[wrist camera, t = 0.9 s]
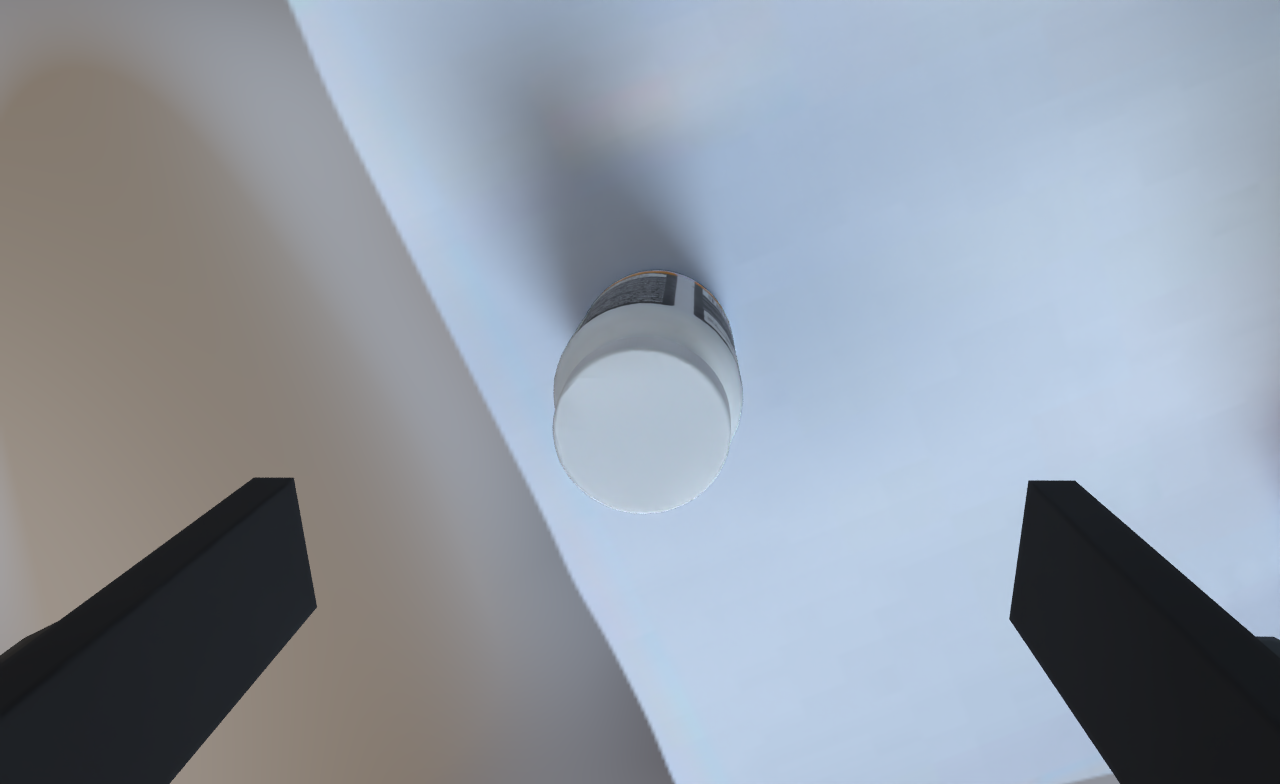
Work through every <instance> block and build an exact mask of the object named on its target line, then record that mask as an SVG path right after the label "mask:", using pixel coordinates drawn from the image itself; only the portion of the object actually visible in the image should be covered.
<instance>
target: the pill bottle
mask: <svg viewBox="0 0 1280 784" xmlns="http://www.w3.org/2000/svg"><path fill="white" fill-rule="evenodd" d="M742 404H743V389H742V382H741V377H740V372H739V366H738V360H737V355H736V351H735V346H734V342H733V336H732V331H731V327H730V324H729V321H728V319H727V317H726V315H725V313H724V311H723V309H722V307H721V306H720V304H719V303H718V301H717V300H716V298H715V297H714V296H713V295H712V294H711V293H710V292H709V291H708V290H707V289H706V288H704V287H703V286H702V285H700V284H699V283H698V282H696V281H694V280H693V279H691V278H689V277H686V276H684V275H681V274H678V273H675V272H670V271H662V270H651V271H642V272H637V273H634V274H631V275H628V276H626V277H624V278H622V279H620V280H618V281H617V282H615V283H613V284H612V285H611V286H610V287H608V288H607V289H606V290H605V291H604V292H603V293H602V294H601V295H600V296H599V297H598V298H597V299H596V300H595V302H594V303H593V304H592V306H591V308H590V309H589V311H588V312H587V314H586V316H585V318H584V319H583V320H582V322H581V323H580V325H579V327H578V328H577V330H576V332H575V333H574V335H573V336H572V338H571V339H570V341H569V343H568V344H567V346H566V348H565V349H564V351H563V353H562V355H561V358H560V360H559V363H558V365H557V370H556V374H555V378H554V405H555V413H554V418H553V437H554V443H555V448H556V452H557V455H558V458H559V460H560V462H561V464H562V467H563V468H564V470H565V471H566V473H567V475H568V476H569V477H570V479H571V480H572V481H573V482H574V483H575V485H576V486H577V487H578V488H579V489H581V490H582V491H583V492H584V493H585V494H587V495H588V496H589V497H591V498H592V499H594V500H595V501H597V502H599V503H601V504H603V505H605V506H607V507H610V508H612V509H615V510H619V511H623V512H628V513H636V514H651V513H660V512H665V511H669V510H672V509H675V508H678V507H680V506H682V505H684V504H687V503H688V502H690V501H692V500H693V499H695V498H696V497H698V496H699V495H700V494H701V493H703V492H704V491H705V490H706V489H707V488H708V487H709V486H710V485H711V484H712V482H713V481H714V480H715V479H716V477H717V476H718V474H719V473H720V471H721V469H722V467H723V465H724V463H725V461H726V458H727V455H728V451H729V447H730V443H731V441H732V439H733V437H734V435H735V433H736V430H737V428H738V424H739V421H740V417H741V412H742Z"/></svg>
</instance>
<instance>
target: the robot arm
mask: <svg viewBox="0 0 1280 784" xmlns="http://www.w3.org/2000/svg"><path fill="white" fill-rule="evenodd" d="M316 608H317V605H316V599H315V594H314V588H313V583H312V577H311V571H310V566H309V560H308V555H307V550H306V544H305V538H304V532H303V527H302V522H301V516H300V510H299V505H298V499H297V494H296V488H295V482H294V478H253V479H252V480H250V481H249V482H247V483H246V484H245V485H243V486H242V487H241V488H239V489H238V490H236V491H235V492H234V493H233V494H231V495H230V496H228V497H227V498H226V499H224V500H223V501H221V502H220V503H219V504H217V505H216V506H215V507H213V508H212V509H211V510H209V511H208V512H207V513H205V514H204V515H202V516H201V517H200V518H198V519H197V520H196V521H194V522H193V523H192V524H190V525H189V526H187V527H186V528H185V529H184V530H182V531H181V532H179V533H178V534H177V535H175V536H174V537H172V538H171V539H170V540H168V541H167V542H166V543H165V544H163V545H162V546H160V547H159V548H158V549H156V550H155V551H153V552H152V553H151V554H149V555H148V556H147V557H145V558H144V559H143V560H141V561H140V562H138V563H137V564H136V565H134V566H133V567H132V568H130V569H129V570H128V571H126V572H125V573H123V574H122V575H121V576H119V577H118V578H117V579H115V580H114V581H113V582H111V583H110V584H108V585H107V586H106V587H104V588H103V589H102V590H100V591H99V592H98V593H96V594H95V595H94V596H92V597H91V598H90V599H88V600H87V601H85V602H84V603H83V604H81V605H80V606H79V607H77V608H76V609H74V610H73V611H72V612H70V613H69V614H68V615H66V616H65V617H64V618H62V619H61V620H60V621H58V622H56V623H54V624H52V625H50V626H48V627H46V628H44V629H42V630H40V631H38V632H36V633H34V634H32V635H29V636H27V637H26V638H24V639H22V640H21V641H19V642H18V643H17V644H15V645H14V646H13V647H11V648H10V649H9V650H7V651H6V652H4V653H3V654H2V655H0V784H170V782H171V781H172V780H173V779H174V778H175V777H176V775H177V774H178V773H179V772H180V771H181V769H182V768H183V767H184V766H185V764H186V763H187V762H188V761H189V760H190V759H191V757H192V756H193V755H194V754H195V753H196V751H197V750H198V749H199V748H200V747H201V745H202V744H203V743H204V742H205V741H206V739H207V738H208V737H209V736H210V734H211V733H212V732H213V731H214V730H215V729H216V727H217V726H218V725H219V724H220V723H221V721H222V720H223V719H224V718H225V717H226V715H227V714H228V713H229V712H230V711H231V709H232V708H233V707H234V706H235V705H236V703H237V702H238V701H239V700H240V699H241V697H242V696H243V695H244V693H246V691H247V690H248V689H249V688H250V687H251V685H252V684H253V683H254V682H255V681H256V679H257V678H258V677H259V676H260V675H261V673H262V672H263V671H264V670H265V669H266V667H267V666H268V665H269V664H270V663H271V661H272V660H273V659H274V658H275V656H277V654H278V653H279V652H280V651H281V650H282V648H283V647H284V646H285V645H286V644H287V642H288V641H289V640H290V639H291V637H292V636H293V635H294V634H295V633H296V632H297V630H298V629H299V628H300V627H301V626H302V624H303V623H304V622H305V621H306V620H307V618H308V617H309V616H310V615H311V614H312V612H313V611H314V610H315V609H316ZM1009 619H1010V621H1011V622H1012V624H1013V625H1014V627H1015V628H1016V630H1017V631H1018V633H1019V634H1020V636H1021V637H1022V638H1023V640H1024V641H1025V643H1026V644H1027V646H1028V647H1029V649H1030V650H1031V652H1032V653H1033V655H1034V656H1035V658H1036V659H1037V661H1038V662H1039V664H1040V665H1041V667H1042V668H1043V670H1044V671H1045V673H1046V674H1047V676H1048V677H1049V679H1050V680H1051V682H1052V683H1053V685H1054V686H1055V688H1056V689H1057V691H1058V692H1059V693H1060V695H1061V696H1062V698H1063V699H1064V701H1065V702H1066V704H1067V705H1068V707H1069V708H1070V710H1071V711H1072V713H1073V714H1074V716H1075V717H1076V719H1077V720H1078V722H1079V723H1080V725H1081V726H1082V728H1083V729H1084V731H1085V732H1086V734H1087V735H1088V737H1089V738H1090V740H1091V741H1092V743H1093V744H1094V745H1095V747H1096V748H1097V750H1098V751H1099V753H1100V754H1101V756H1102V757H1103V759H1104V760H1105V762H1106V763H1107V765H1108V766H1109V768H1110V769H1111V771H1112V772H1113V774H1114V775H1115V777H1116V778H1117V780H1118V781H1119V783H1120V784H1280V640H1279V639H1277V638H1275V637H1255V636H1254V635H1253V634H1252V633H1251V632H1249V631H1248V630H1247V629H1246V628H1245V627H1244V626H1242V625H1241V624H1240V623H1239V622H1238V621H1237V620H1235V619H1234V618H1233V617H1232V616H1231V615H1230V614H1229V613H1227V612H1226V611H1225V610H1224V609H1223V608H1222V607H1220V606H1219V605H1218V604H1217V603H1216V602H1215V601H1213V600H1212V599H1211V598H1210V597H1209V596H1208V595H1207V594H1205V593H1204V592H1203V591H1202V590H1201V589H1200V588H1198V587H1197V586H1196V585H1195V584H1194V583H1193V582H1192V581H1190V580H1189V579H1188V578H1187V577H1186V576H1185V575H1183V574H1182V573H1181V572H1180V571H1179V570H1178V569H1176V568H1175V567H1174V566H1173V565H1172V564H1171V563H1170V562H1168V561H1167V560H1166V559H1165V558H1164V557H1163V556H1161V555H1160V554H1159V553H1158V552H1157V551H1156V550H1155V549H1153V548H1152V547H1151V546H1150V545H1149V544H1148V543H1146V542H1145V541H1144V540H1143V539H1142V538H1141V537H1139V536H1138V535H1137V534H1136V533H1135V532H1134V531H1133V530H1131V529H1130V528H1129V527H1128V526H1127V525H1126V524H1124V523H1123V522H1122V521H1121V520H1120V519H1119V518H1117V517H1116V516H1115V515H1114V514H1113V513H1112V512H1111V511H1109V510H1108V509H1107V508H1106V507H1105V506H1104V505H1102V504H1101V503H1100V502H1099V501H1098V500H1097V499H1096V498H1094V497H1093V496H1092V495H1091V494H1090V493H1089V492H1087V491H1086V490H1085V489H1084V488H1083V487H1082V486H1080V485H1079V484H1078V483H1077V482H1076V481H1028V488H1027V495H1026V503H1025V510H1024V517H1023V524H1022V532H1021V539H1020V546H1019V553H1018V560H1017V568H1016V575H1015V582H1014V589H1013V596H1012V604H1011V611H1010V618H1009Z"/></svg>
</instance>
